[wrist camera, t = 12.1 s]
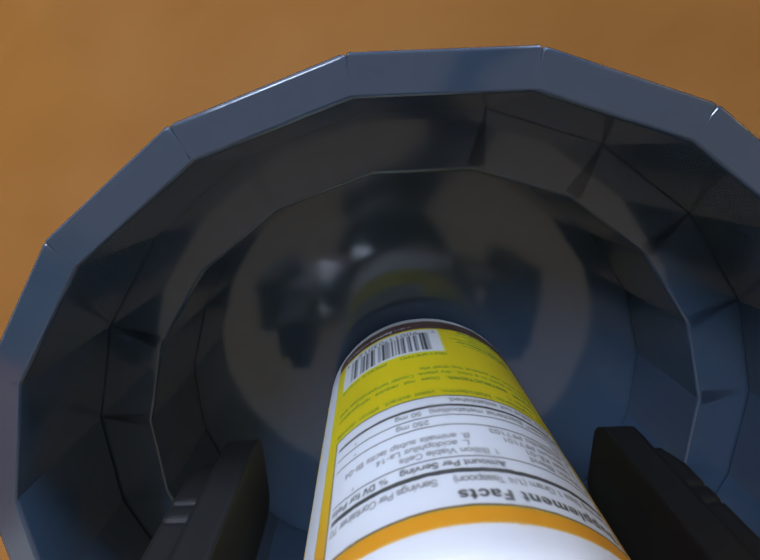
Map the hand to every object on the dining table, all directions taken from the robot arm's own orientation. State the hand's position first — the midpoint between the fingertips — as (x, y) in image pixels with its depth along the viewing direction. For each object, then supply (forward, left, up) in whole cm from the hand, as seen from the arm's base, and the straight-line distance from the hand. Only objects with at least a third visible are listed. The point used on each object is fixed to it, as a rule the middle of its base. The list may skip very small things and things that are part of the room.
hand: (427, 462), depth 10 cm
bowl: (0, 0, -4) cm, 4 cm away
